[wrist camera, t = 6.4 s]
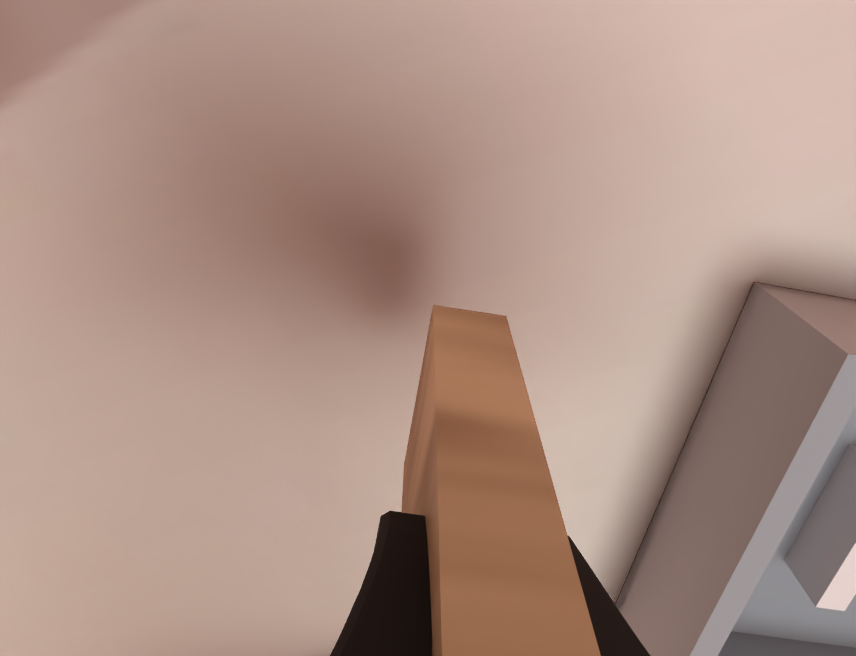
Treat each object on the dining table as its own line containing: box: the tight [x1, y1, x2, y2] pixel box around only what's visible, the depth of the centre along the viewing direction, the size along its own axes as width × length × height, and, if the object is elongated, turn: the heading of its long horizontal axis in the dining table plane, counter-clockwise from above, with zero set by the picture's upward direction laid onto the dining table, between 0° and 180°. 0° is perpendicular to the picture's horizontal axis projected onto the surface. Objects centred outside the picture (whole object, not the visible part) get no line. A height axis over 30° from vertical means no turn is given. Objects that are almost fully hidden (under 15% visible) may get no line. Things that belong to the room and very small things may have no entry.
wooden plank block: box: [402, 305, 601, 656], centre depth 10 cm, size 4×2×8 cm, turn 171°
